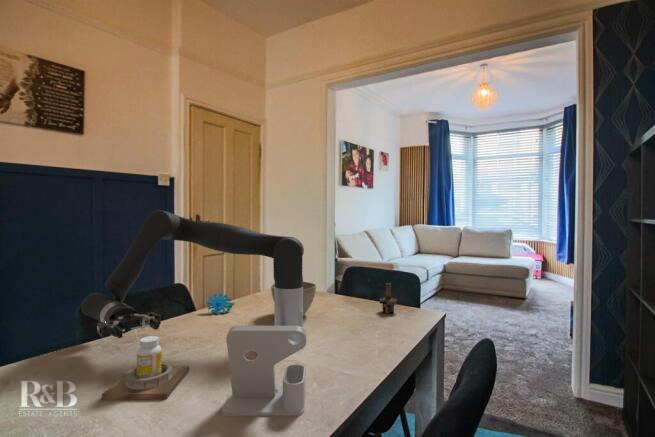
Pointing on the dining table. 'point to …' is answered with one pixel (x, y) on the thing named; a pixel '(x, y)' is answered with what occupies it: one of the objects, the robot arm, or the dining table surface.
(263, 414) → the white tool holder stand
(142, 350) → the supplement bottle
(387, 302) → the industrial component
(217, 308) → the blue spiky rounded piece
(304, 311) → the flower pot
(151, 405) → the dining table surface
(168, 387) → the walnut board
